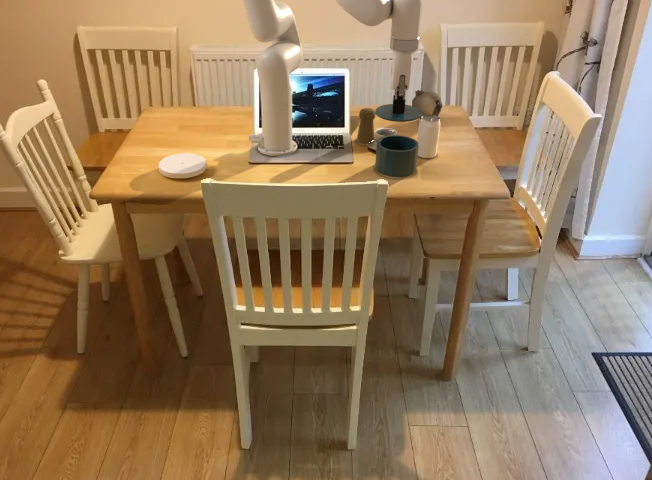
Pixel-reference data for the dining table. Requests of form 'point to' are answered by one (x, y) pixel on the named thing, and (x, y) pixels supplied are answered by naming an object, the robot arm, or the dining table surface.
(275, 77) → the robot arm
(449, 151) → the dining table surface
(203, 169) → the plastic lid
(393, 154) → the pot
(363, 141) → the cork
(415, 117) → the lid
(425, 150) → the can
